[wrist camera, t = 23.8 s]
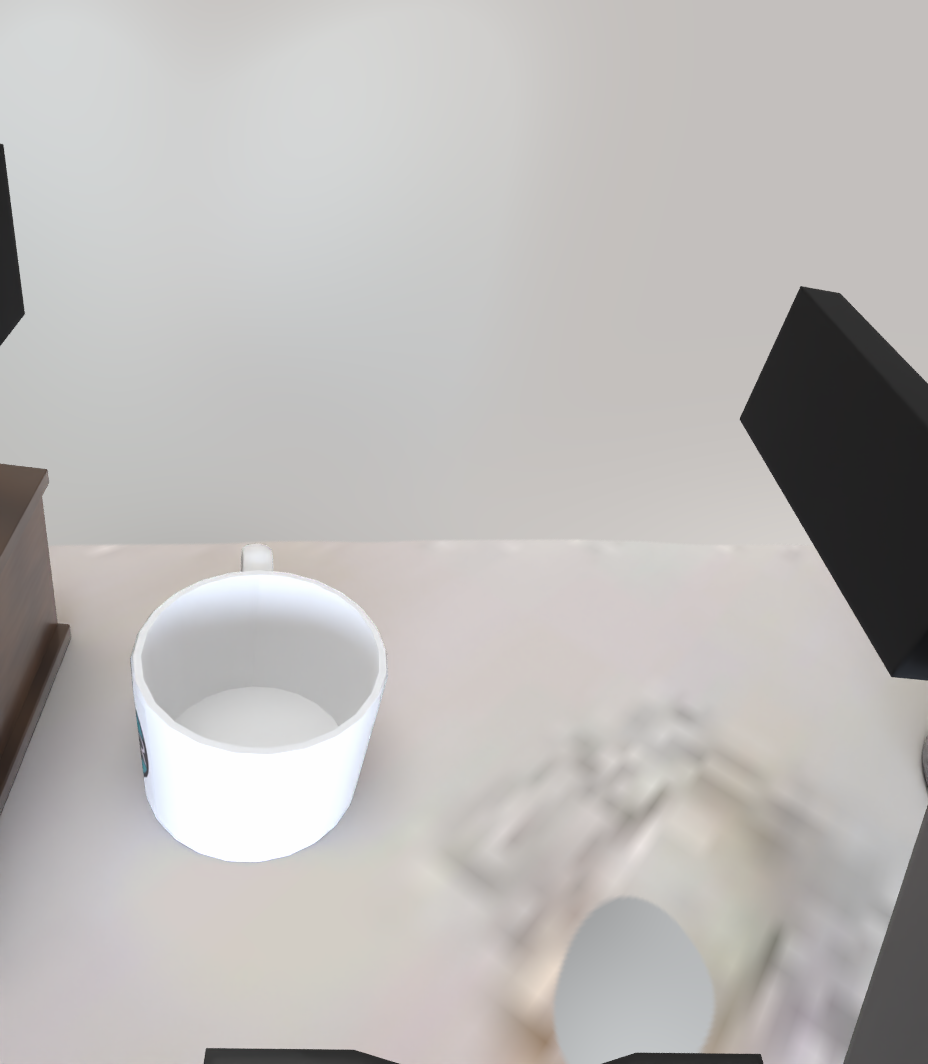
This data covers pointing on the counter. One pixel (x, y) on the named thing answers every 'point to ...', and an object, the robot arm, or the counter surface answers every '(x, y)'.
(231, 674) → the mug
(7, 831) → the counter surface
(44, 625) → the wall board
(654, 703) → the counter surface
